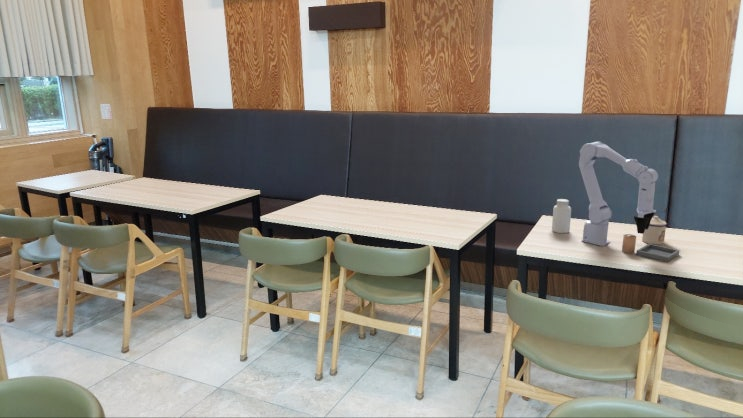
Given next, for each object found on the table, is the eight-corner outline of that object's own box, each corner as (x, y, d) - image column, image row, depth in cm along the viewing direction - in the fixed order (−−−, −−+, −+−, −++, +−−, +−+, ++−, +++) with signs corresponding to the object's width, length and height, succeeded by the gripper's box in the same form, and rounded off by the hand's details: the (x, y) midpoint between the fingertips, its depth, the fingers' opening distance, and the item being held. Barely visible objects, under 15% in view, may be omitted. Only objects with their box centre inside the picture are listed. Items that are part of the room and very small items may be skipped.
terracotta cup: (619, 251, 229) (621, 235, 227) (624, 249, 232) (626, 233, 230) (631, 254, 225) (633, 238, 223) (636, 251, 228) (638, 235, 227)
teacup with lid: (662, 246, 235) (666, 220, 232) (639, 242, 240) (642, 217, 237) (666, 239, 245) (670, 214, 242) (644, 235, 250) (647, 211, 247)
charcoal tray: (635, 255, 224) (636, 250, 224) (648, 248, 233) (649, 243, 232) (667, 262, 216) (667, 257, 215) (678, 254, 224) (679, 250, 224)
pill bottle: (550, 228, 262) (552, 198, 258) (567, 229, 261) (570, 198, 257) (553, 233, 254) (555, 201, 250) (571, 234, 253) (574, 202, 249)
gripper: (652, 203, 214) (649, 236, 217) (660, 196, 225) (657, 228, 228) (633, 201, 219) (630, 234, 222) (641, 194, 230) (639, 226, 233)
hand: (642, 231), depth 225 cm, fingers open, 7 cm apart
